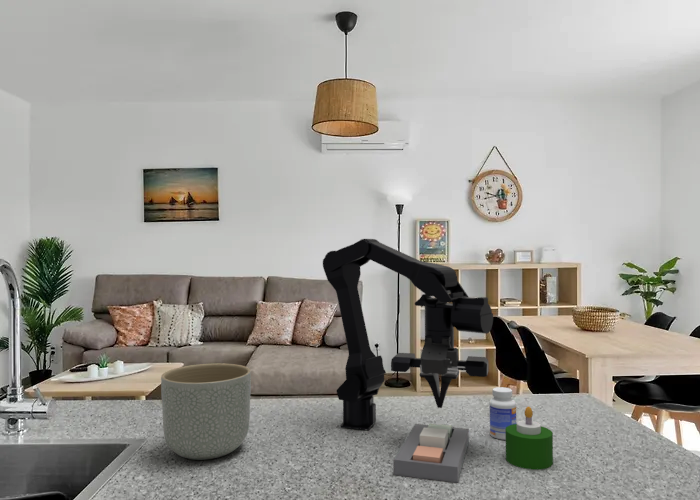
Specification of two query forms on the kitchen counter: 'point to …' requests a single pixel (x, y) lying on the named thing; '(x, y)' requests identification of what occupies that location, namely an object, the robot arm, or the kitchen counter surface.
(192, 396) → the planter
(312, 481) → the kitchen counter surface
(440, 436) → the key white
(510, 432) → the candle
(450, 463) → the keypad
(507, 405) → the pill bottle
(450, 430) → the key sage
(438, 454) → the key terracotta
